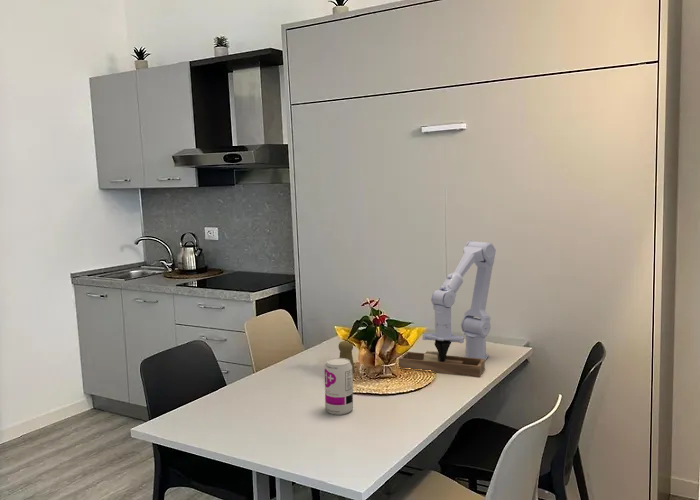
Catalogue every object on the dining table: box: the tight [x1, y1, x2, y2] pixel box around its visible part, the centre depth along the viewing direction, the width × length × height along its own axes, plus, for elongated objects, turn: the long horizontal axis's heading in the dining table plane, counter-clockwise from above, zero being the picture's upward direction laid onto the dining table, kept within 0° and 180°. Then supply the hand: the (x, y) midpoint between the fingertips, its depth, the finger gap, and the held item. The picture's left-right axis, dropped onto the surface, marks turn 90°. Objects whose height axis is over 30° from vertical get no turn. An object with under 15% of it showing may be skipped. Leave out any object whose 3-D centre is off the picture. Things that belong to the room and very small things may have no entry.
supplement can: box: [324, 357, 354, 416], centre depth 185 cm, size 8×8×15 cm
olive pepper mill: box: [338, 340, 356, 375], centre depth 221 cm, size 6×6×11 cm
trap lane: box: [398, 351, 486, 378], centre depth 222 cm, size 9×29×4 cm, turn 67°
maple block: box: [424, 350, 440, 362], centre depth 223 cm, size 5×5×3 cm
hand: (443, 360), depth 222 cm, fingers closed
